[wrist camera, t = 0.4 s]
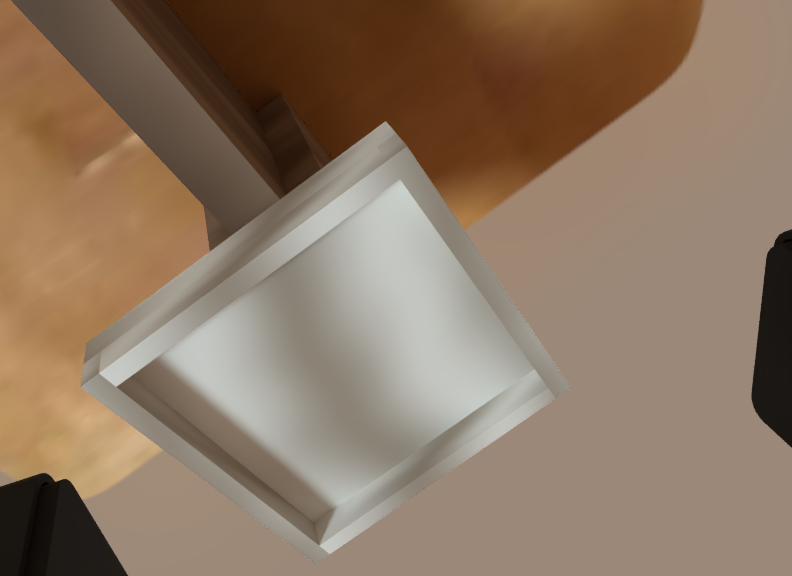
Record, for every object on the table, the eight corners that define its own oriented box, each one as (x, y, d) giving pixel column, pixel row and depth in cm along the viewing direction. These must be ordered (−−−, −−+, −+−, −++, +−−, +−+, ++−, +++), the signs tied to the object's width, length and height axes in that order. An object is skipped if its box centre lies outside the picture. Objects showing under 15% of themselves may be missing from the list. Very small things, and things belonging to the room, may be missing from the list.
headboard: (28, -366, 24) (-317, -957, 7) (409, 179, 38) (631, 465, 20) (-199, -173, 25) (-1054, -232, 7) (254, 293, 39) (337, 663, 21)
